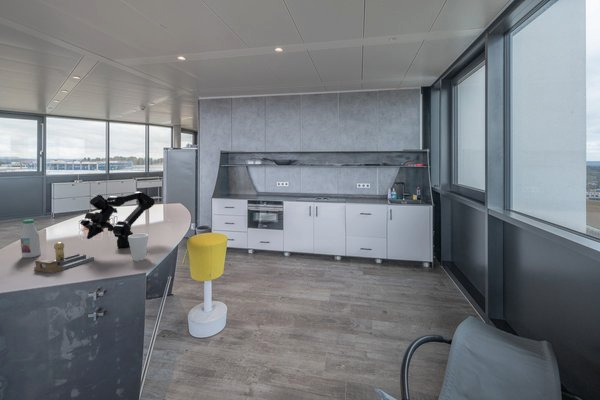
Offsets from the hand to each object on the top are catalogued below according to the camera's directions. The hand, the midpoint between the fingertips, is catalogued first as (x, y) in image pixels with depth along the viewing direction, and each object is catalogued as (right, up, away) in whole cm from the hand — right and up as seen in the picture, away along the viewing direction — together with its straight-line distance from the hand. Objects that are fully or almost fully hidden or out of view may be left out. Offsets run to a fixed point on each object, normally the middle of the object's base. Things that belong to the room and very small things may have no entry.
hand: (87, 238), depth 164 cm
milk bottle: (-32, -10, +2) cm, 34 cm away
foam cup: (+28, -11, 0) cm, 30 cm away
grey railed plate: (-4, -12, -10) cm, 16 cm away
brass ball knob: (-5, -11, -16) cm, 20 cm away
